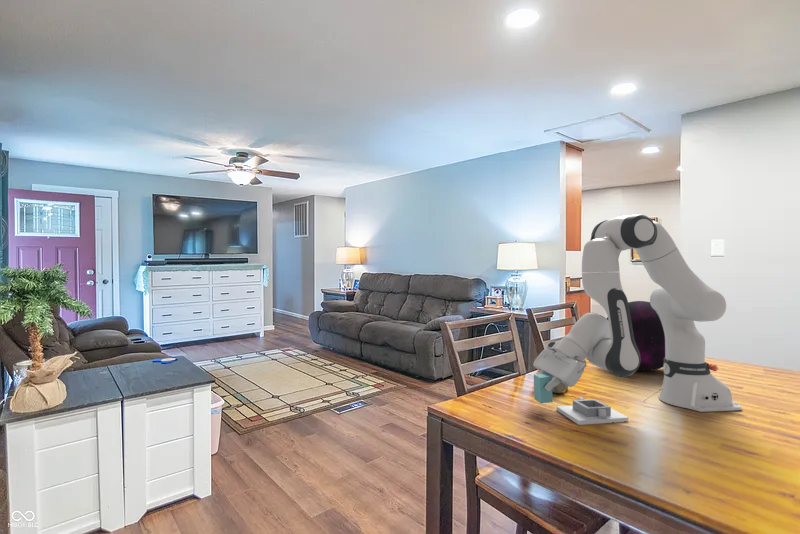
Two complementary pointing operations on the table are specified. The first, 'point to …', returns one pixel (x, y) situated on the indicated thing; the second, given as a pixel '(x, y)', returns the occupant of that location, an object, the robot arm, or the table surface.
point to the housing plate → (591, 412)
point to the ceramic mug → (559, 388)
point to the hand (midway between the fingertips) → (541, 386)
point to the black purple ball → (647, 335)
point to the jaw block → (539, 391)
